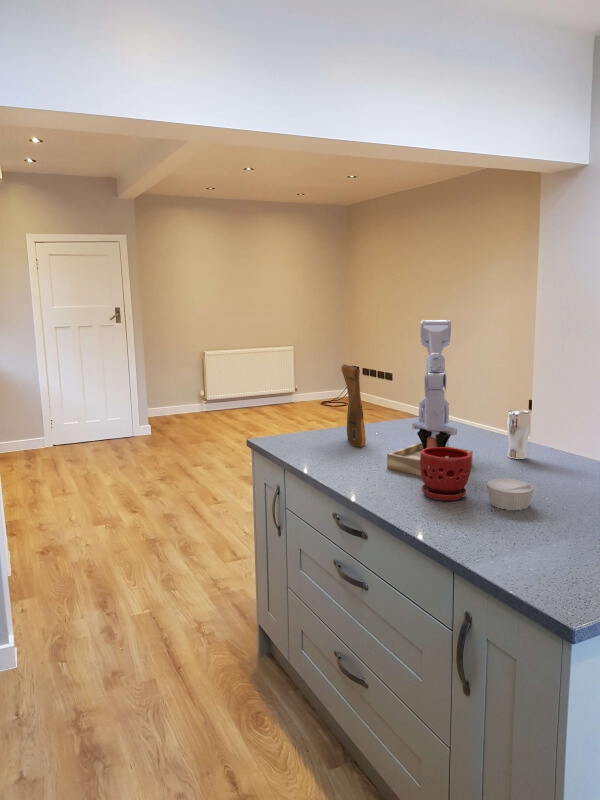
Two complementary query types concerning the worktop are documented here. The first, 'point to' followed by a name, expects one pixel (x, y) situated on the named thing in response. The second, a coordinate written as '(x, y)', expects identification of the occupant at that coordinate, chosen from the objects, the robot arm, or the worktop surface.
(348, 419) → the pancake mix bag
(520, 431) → the beer glass
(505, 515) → the worktop surface
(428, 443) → the peg
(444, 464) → the plant pot
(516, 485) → the ramekin
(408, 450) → the box
